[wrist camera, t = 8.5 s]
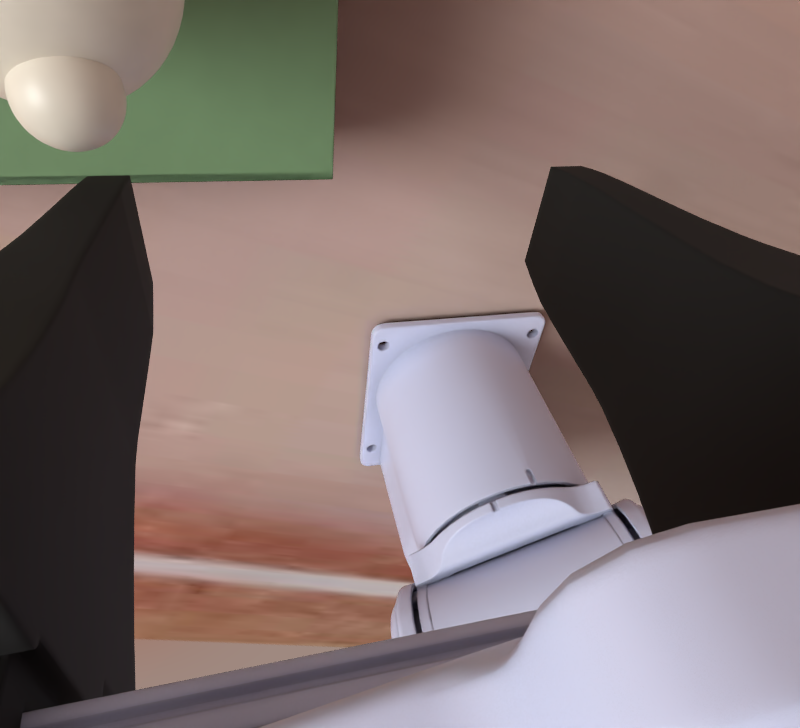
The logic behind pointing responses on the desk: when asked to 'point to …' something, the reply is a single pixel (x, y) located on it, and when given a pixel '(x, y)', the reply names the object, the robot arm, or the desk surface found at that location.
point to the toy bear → (80, 63)
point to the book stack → (213, 104)
